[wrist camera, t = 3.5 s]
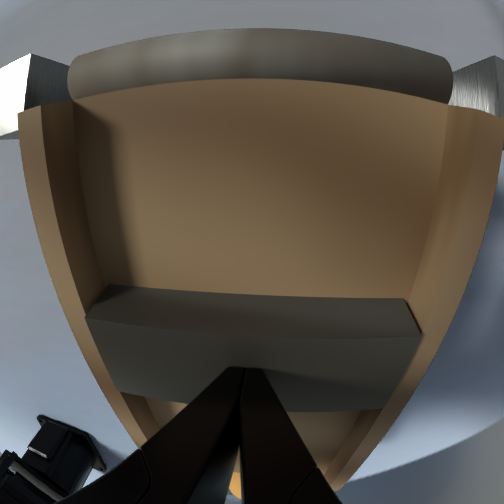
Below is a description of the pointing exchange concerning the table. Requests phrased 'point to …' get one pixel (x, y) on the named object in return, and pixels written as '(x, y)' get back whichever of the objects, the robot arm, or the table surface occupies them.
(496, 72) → the hinge stand
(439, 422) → the table surface
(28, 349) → the table surface
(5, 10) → the table surface
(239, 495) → the ball
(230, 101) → the tray
